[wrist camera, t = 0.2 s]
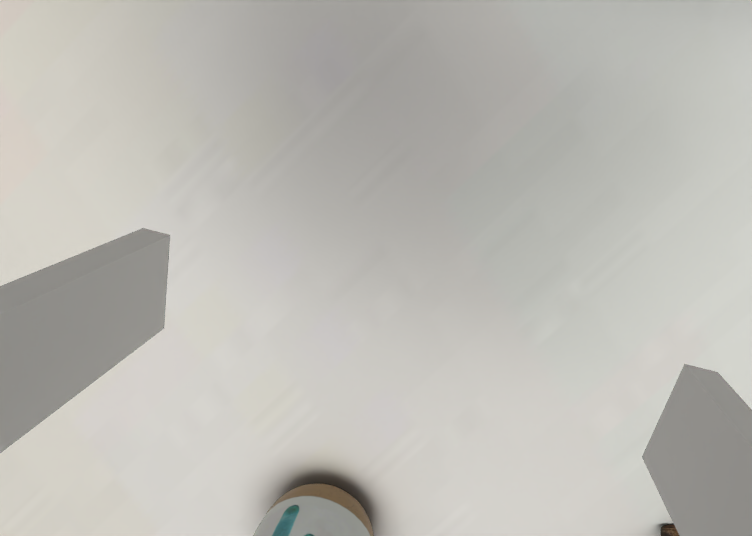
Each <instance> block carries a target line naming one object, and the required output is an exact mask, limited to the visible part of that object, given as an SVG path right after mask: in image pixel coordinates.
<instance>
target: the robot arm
mask: <svg viewBox="0 0 752 536" xmlns="http://www.w3.org/2000/svg"><path fill="white" fill-rule="evenodd" d="M169 244H170V235H168V234H164V233H160V232H156V231H152V230H148V229H144V228H142V229H140V230H137V231H135V232H132V233H130V234H128V235H125V236H123V237H120V238H118V239H115V240H113V241H110V242H108V243H105V244H103V245H101V246H98V247H96V248H93V249H91V250H88V251H86V252H83V253H81V254H78V255H76V256H74V257H71V258H69V259H66V260H64V261H61V262H59V263H56V264H54V265H51V266H49V267H47V268H44V269H42V270H39V271H37V272H34V273H32V274H29V275H27V276H24V277H22V278H20V279H17V280H15V281H12V282H10V283H7V284H5V285H2V286H0V453H1V452H2V451H4V450H5V449H6V448H8V447H9V446H10V445H12V444H13V443H14V442H15V441H17V440H18V439H19V438H21V437H22V436H23V435H25V434H26V433H27V432H29V431H30V430H31V429H33V428H34V427H35V426H36V425H38V424H39V423H40V422H42V421H43V420H44V419H46V418H47V417H48V416H50V415H51V414H52V413H54V412H55V411H56V410H57V409H59V408H60V407H61V406H63V405H64V404H65V403H67V402H68V401H69V400H71V399H72V398H73V397H75V396H76V395H77V394H78V393H80V392H81V391H82V390H84V389H85V388H86V387H88V386H89V385H90V384H92V383H93V382H94V381H96V380H97V379H98V378H99V377H101V376H102V375H103V374H105V373H106V372H107V371H109V370H110V369H111V368H113V367H114V366H115V365H116V364H118V363H119V362H120V361H122V360H123V359H124V358H126V357H127V356H128V355H130V354H131V353H132V352H134V351H135V350H136V349H137V348H139V347H140V346H141V345H143V344H144V343H145V342H147V341H148V340H149V339H151V338H152V337H153V336H155V335H156V334H157V333H158V332H160V331H161V330H162V329H164V321H165V305H166V290H167V275H168V259H169ZM642 458H643V460H644V462H645V464H646V466H647V468H648V470H649V473H650V475H651V477H652V479H653V481H654V483H655V485H656V487H657V489H658V491H659V494H660V496H661V498H662V500H663V502H664V504H665V506H666V508H667V510H668V513H669V515H670V517H671V519H672V521H673V523H674V525H675V527H676V529H677V531H678V534H679V536H752V410H751V409H750V408H749V407H748V405H747V404H746V403H745V402H744V401H743V400H742V399H741V398H740V397H739V395H738V394H737V393H736V392H735V391H734V390H733V389H732V388H731V386H730V385H729V384H728V383H727V382H726V381H725V380H724V379H723V377H722V376H721V375H720V374H719V373H718V372H715V371H711V370H707V369H703V368H699V367H695V366H691V365H687V364H684V367H683V369H682V371H681V373H680V375H679V377H678V380H677V382H676V384H675V386H674V388H673V391H672V393H671V395H670V397H669V399H668V401H667V404H666V406H665V408H664V410H663V412H662V414H661V417H660V419H659V421H658V423H657V425H656V428H655V430H654V432H653V434H652V436H651V438H650V441H649V443H648V445H647V447H646V449H645V452H644V454H643V456H642Z"/></svg>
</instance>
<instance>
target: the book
mask: <svg viewBox="0 0 752 536" xmlns="http://www.w3.org/2000/svg"><path fill="white" fill-rule="evenodd" d="M661 536H679V534H678V531H677V529H676V527H675V525H664V526H663V527H662V528H661Z"/></svg>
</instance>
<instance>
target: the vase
mask: <svg viewBox="0 0 752 536" xmlns="http://www.w3.org/2000/svg"><path fill="white" fill-rule="evenodd" d="M253 536H374V535H373V529H372V526H371V523H370V520H369V518H368V516H367V514H366V512H365V510H364V509H363V507H362V506H361V504H360V503H359V502H358V501H357V500H356V499H355V498H354V497H353V496H351V495H350V494H349V493H347V492H346V491H344V490H342V489H340V488H338V487H335V486H332V485H328V484H306V485H302V486H299V487H296V488H294V489H292V490H290V491H288V492H287V493H286V494H284V495H283V496H282V497H280V498H279V499H278V500H277V501H276V502H275V503H274V505H273V506H272V507H271V508H270V509H269V511H268V512H267V514H266V515H265V517H264V518H263V520H262V522H261V523H260V525H259V526H258V528H257V530H256V531H255V533H254V535H253Z"/></svg>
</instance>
